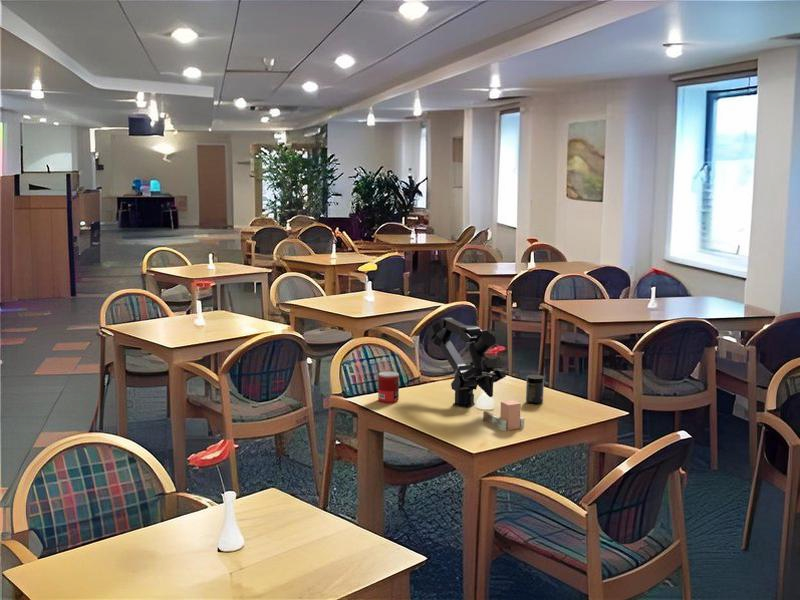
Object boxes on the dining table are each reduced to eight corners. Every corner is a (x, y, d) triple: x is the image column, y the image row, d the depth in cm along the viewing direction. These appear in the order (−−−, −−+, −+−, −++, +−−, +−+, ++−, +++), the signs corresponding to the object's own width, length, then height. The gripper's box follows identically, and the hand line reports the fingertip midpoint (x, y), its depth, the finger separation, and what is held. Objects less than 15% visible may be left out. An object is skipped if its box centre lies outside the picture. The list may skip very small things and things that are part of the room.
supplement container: (541, 405, 325) (542, 379, 324) (524, 404, 328) (525, 378, 326) (544, 401, 332) (545, 375, 330) (527, 399, 334) (528, 374, 332)
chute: (483, 420, 305) (483, 411, 304) (503, 418, 309) (503, 408, 308) (503, 431, 293) (503, 421, 293) (524, 427, 297) (524, 418, 297)
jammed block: (500, 426, 298) (500, 401, 297) (511, 424, 301) (512, 400, 299) (507, 430, 294) (508, 405, 293) (519, 428, 296) (520, 403, 295)
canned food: (398, 403, 326) (398, 376, 325) (377, 403, 326) (377, 375, 325) (398, 398, 334) (399, 371, 332) (378, 398, 334) (378, 370, 332)
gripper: (478, 346, 302) (491, 387, 296) (510, 350, 315) (523, 388, 309) (456, 359, 309) (468, 399, 302) (488, 362, 322) (501, 400, 315)
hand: (491, 396), depth 307 cm, fingers closed
